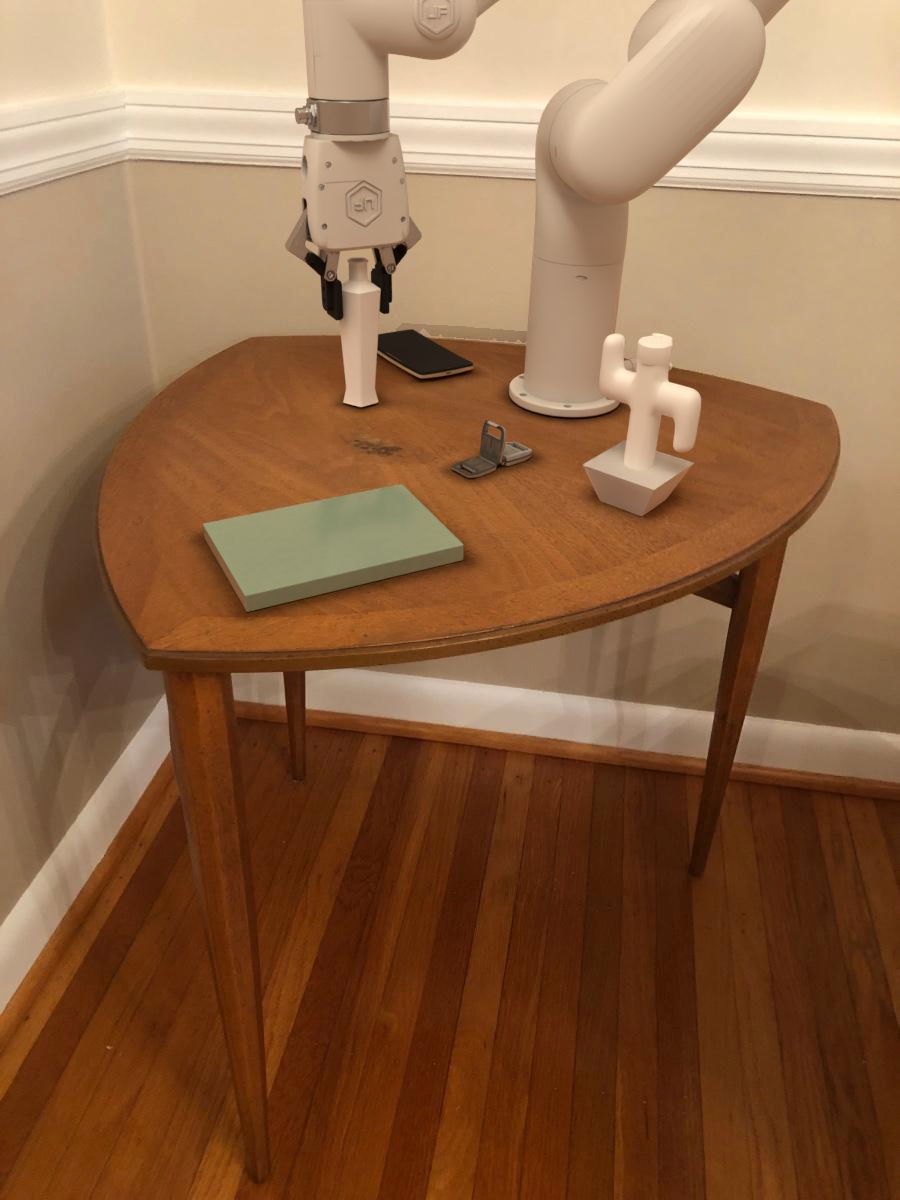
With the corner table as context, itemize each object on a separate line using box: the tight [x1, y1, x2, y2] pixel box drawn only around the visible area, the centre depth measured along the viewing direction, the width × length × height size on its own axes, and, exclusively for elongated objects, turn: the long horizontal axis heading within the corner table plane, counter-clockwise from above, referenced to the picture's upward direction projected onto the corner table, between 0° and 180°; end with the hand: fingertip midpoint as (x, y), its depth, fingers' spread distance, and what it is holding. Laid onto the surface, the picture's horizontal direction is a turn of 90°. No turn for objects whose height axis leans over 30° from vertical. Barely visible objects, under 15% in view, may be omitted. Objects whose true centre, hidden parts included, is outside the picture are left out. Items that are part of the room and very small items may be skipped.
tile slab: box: [202, 483, 465, 613], centre depth 77 cm, size 18×12×2 cm, turn 117°
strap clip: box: [451, 419, 533, 479], centre depth 90 cm, size 8×3×4 cm, turn 130°
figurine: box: [581, 332, 702, 517], centre depth 82 cm, size 7×9×15 cm
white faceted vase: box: [338, 257, 381, 408], centre depth 100 cm, size 5×4×15 cm
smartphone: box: [377, 328, 474, 379], centre depth 116 cm, size 7×1×15 cm
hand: (357, 311), depth 98 cm, fingers closed on white faceted vase, 4 cm apart
